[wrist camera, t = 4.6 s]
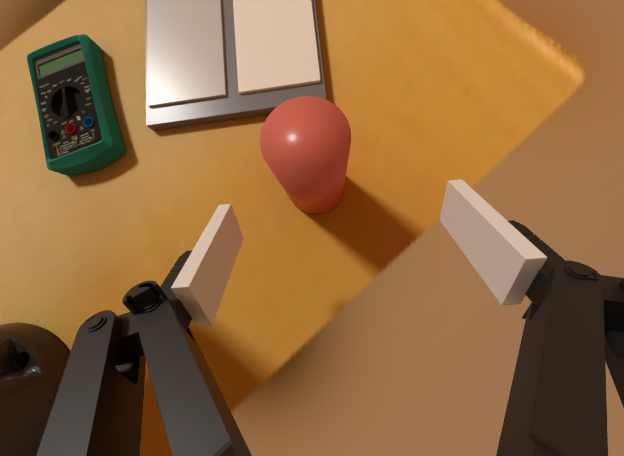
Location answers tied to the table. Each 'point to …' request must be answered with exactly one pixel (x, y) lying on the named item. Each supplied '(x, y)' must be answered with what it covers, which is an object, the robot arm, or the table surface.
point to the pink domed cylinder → (308, 151)
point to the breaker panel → (228, 58)
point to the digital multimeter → (75, 106)
